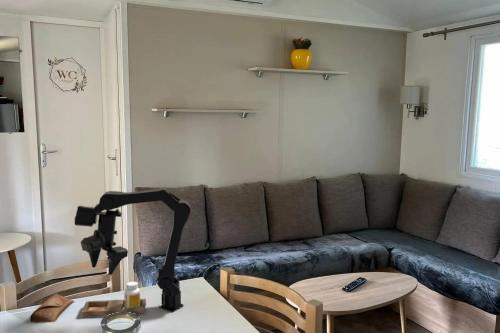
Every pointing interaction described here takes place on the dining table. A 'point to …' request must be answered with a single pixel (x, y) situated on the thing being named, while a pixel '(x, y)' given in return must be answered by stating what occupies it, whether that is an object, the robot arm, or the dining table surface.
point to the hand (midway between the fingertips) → (101, 271)
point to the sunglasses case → (51, 309)
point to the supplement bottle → (132, 295)
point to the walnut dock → (109, 308)
